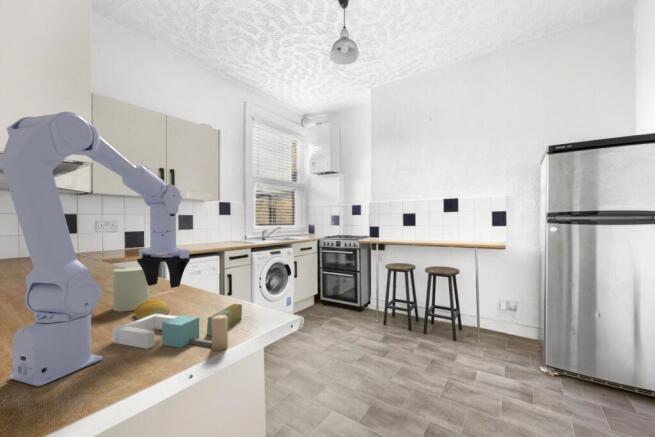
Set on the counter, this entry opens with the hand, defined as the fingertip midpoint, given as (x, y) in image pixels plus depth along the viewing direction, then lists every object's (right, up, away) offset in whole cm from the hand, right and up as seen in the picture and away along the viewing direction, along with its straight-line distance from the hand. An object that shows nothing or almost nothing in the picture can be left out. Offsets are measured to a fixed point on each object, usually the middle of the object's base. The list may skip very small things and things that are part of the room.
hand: (163, 285), depth 72 cm
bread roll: (-7, -10, +7) cm, 14 cm away
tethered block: (+14, -9, -12) cm, 21 cm away
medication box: (+16, -10, -2) cm, 19 cm away
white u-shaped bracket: (+2, -9, -8) cm, 13 cm away
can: (-18, -10, +15) cm, 25 cm away
